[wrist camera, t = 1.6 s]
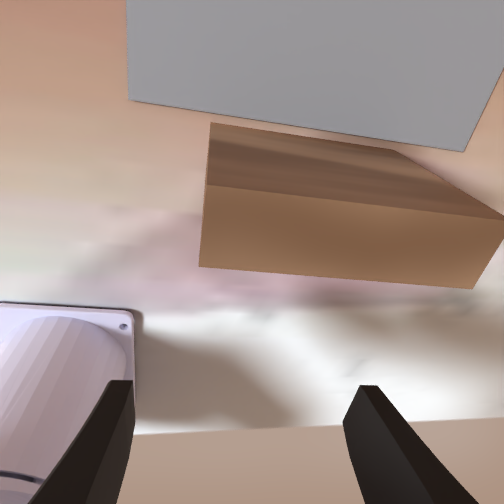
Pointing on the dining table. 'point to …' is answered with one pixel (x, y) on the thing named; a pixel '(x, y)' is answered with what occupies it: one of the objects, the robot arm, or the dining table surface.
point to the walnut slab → (338, 212)
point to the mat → (323, 63)
